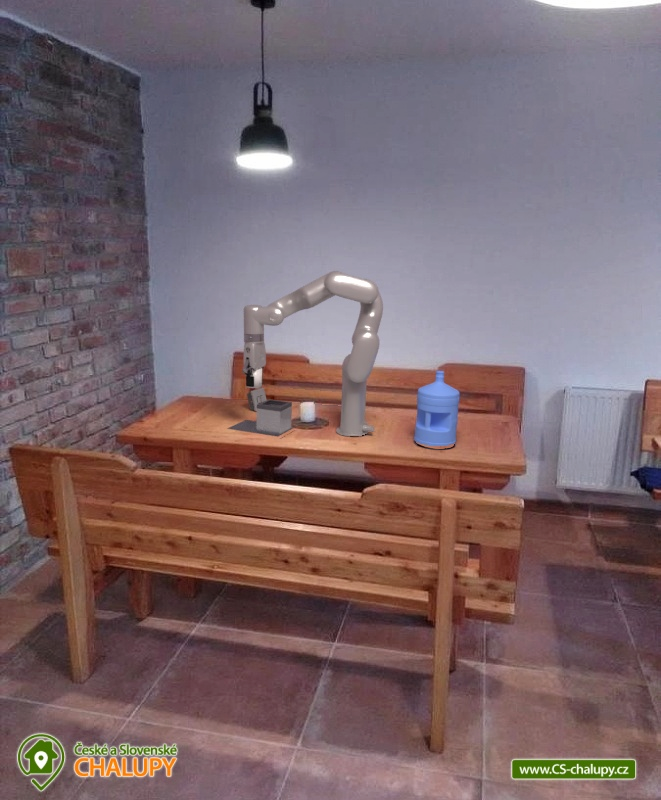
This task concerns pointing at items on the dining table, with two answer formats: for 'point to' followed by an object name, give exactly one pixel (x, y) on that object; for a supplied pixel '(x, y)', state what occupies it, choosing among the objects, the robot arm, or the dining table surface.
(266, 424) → the grey box
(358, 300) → the robot arm
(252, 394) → the electrical switch
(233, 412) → the dining table surface
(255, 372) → the pump
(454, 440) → the water jug
